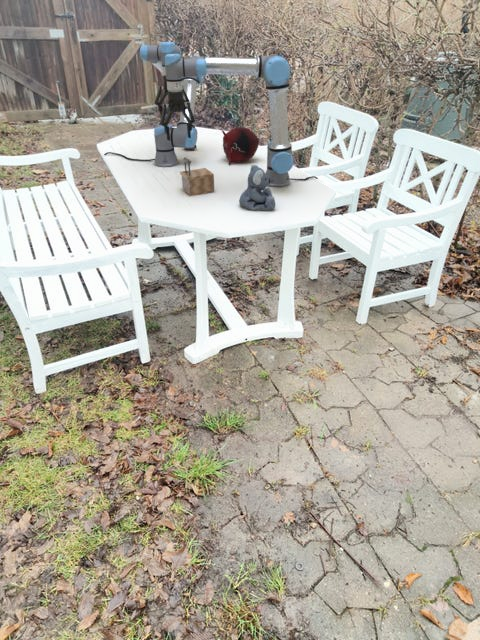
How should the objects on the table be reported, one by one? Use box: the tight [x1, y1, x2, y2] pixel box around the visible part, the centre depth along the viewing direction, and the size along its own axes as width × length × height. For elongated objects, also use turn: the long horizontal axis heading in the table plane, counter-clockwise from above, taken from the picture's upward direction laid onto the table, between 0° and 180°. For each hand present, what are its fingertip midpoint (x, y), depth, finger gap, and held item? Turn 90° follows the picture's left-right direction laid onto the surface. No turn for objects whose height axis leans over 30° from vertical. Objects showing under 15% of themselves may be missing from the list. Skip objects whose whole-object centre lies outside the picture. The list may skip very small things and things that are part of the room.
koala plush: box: [238, 164, 276, 211], centre depth 224 cm, size 17×18×20 cm
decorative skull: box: [221, 126, 260, 166], centre depth 295 cm, size 21×24×25 cm
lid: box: [179, 156, 215, 180], centre depth 242 cm, size 15×12×9 cm
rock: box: [183, 144, 198, 151], centre depth 322 cm, size 12×9×10 cm
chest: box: [181, 175, 215, 197], centre depth 247 cm, size 14×12×9 cm
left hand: (173, 117), depth 258 cm, fingers open, 13 cm apart
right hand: (179, 138), depth 230 cm, fingers open, 11 cm apart
